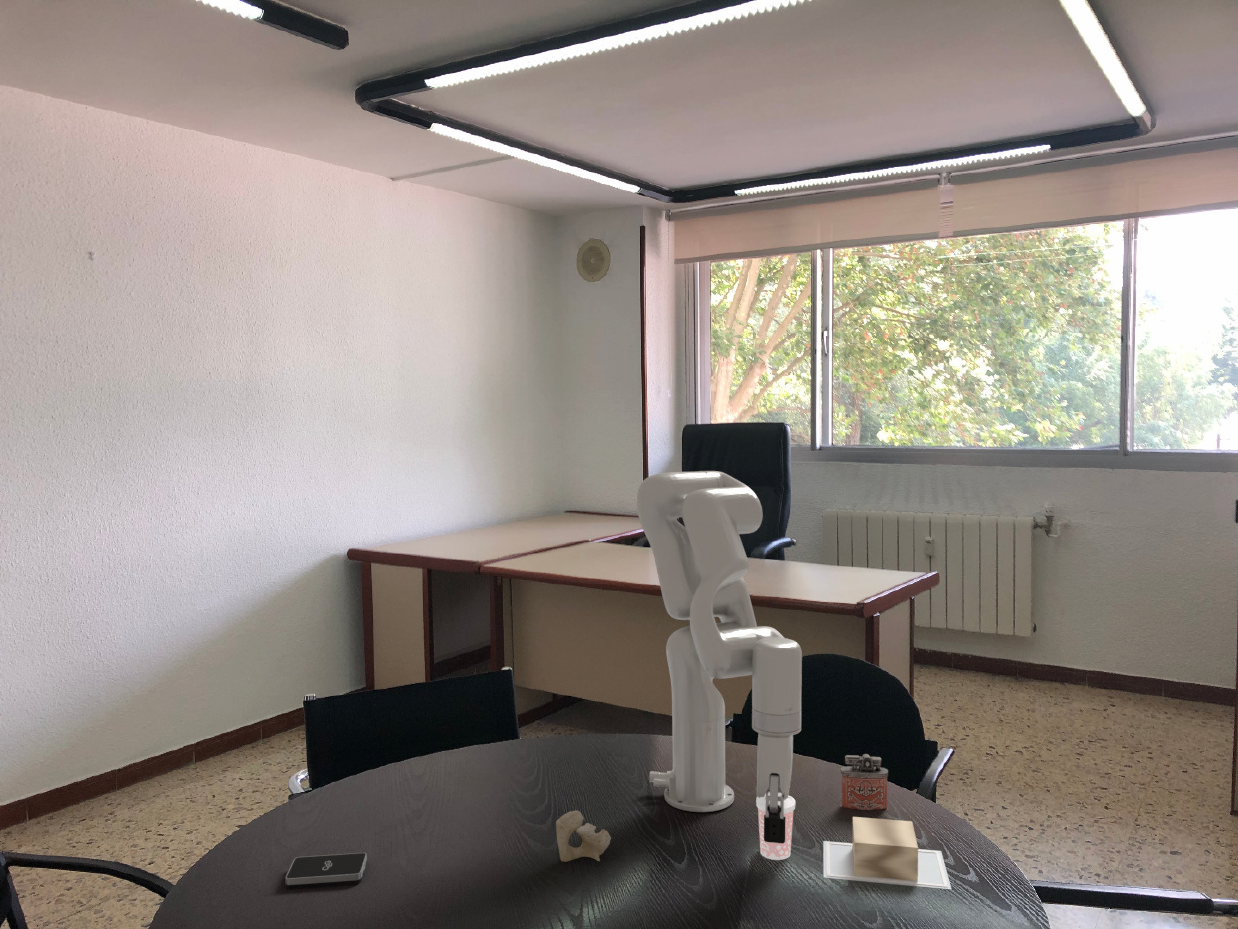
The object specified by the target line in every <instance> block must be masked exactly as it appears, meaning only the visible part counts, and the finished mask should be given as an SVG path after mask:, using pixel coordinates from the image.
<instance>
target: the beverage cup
mask: <svg viewBox="0 0 1238 929" xmlns="http://www.w3.org/2000/svg"><path fill="white" fill-rule="evenodd" d="M769 796H770V793H769ZM778 797H782V793H778ZM755 799H756V800H755V802H756V803H755V806H756V807H757V810H758V811H757V813H758V816H757V817H758V831H759V848H760V855H761V856H762V857H764V858H766V859H768V860H774V861H781V860H786V859H788V858H790V856H791V852H792V851H791V850H792V837H793V824H794V823H793V822H794V810H795V809H796V799H795V798H794V797H793V796H791V795H790V794H789V795H788V798H787V799H786V800H784V817H785V843H772V842H765V841H764V815H765V809H766V794H765V796H764V797H761V798H758V797H757V796H756V798H755ZM769 803H770V800H769ZM778 805H780V801H778Z"/></svg>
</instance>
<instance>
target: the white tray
mask: <svg viewBox="0 0 1238 929" xmlns="http://www.w3.org/2000/svg"><path fill="white" fill-rule="evenodd" d="M822 842H823V843H822V844H823V846H822V847H823V848H822V849H823V851H822V852H823V858H822V859H823V860H822V861H823V863H822V865H823V878H824V879H834V880H845V881H856V882H864V883H865V882H867V883H876V884H877V883H879V884H885V885H886V884H887V885H888V884H889V885H898V886H899V885H900V886H911V887H920V888H921V887H922V888H931V889H943V890H951V891H952V885H951V882H950V879H949V875H948V871H947V868H946V864H945V861H944V856H943V853H942V850H933V849H921V848H918V881H911V880H900V879H890V878H879V877H868V876H857V875H854V861H853V842H852V843H851V842H842V841H841V842H840V841H838V842H837V841H828V840H823V841H822Z"/></svg>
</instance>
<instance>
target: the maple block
mask: <svg viewBox="0 0 1238 929" xmlns="http://www.w3.org/2000/svg"><path fill="white" fill-rule="evenodd" d="M916 836H917V835H916V833H915V827H914V823H913V821H911V820H900V819H899V820H897V819H896V820H895V819H886V818H876V817H875V818H874V817H873V818H871V817H861V816H860V817H859V816H852V843H853V861H854V875H857V876H868V877H879V878H890V879H900V880H911V881H918V849H919V847H918V846H919V845H918V841H917V837H916Z"/></svg>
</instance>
